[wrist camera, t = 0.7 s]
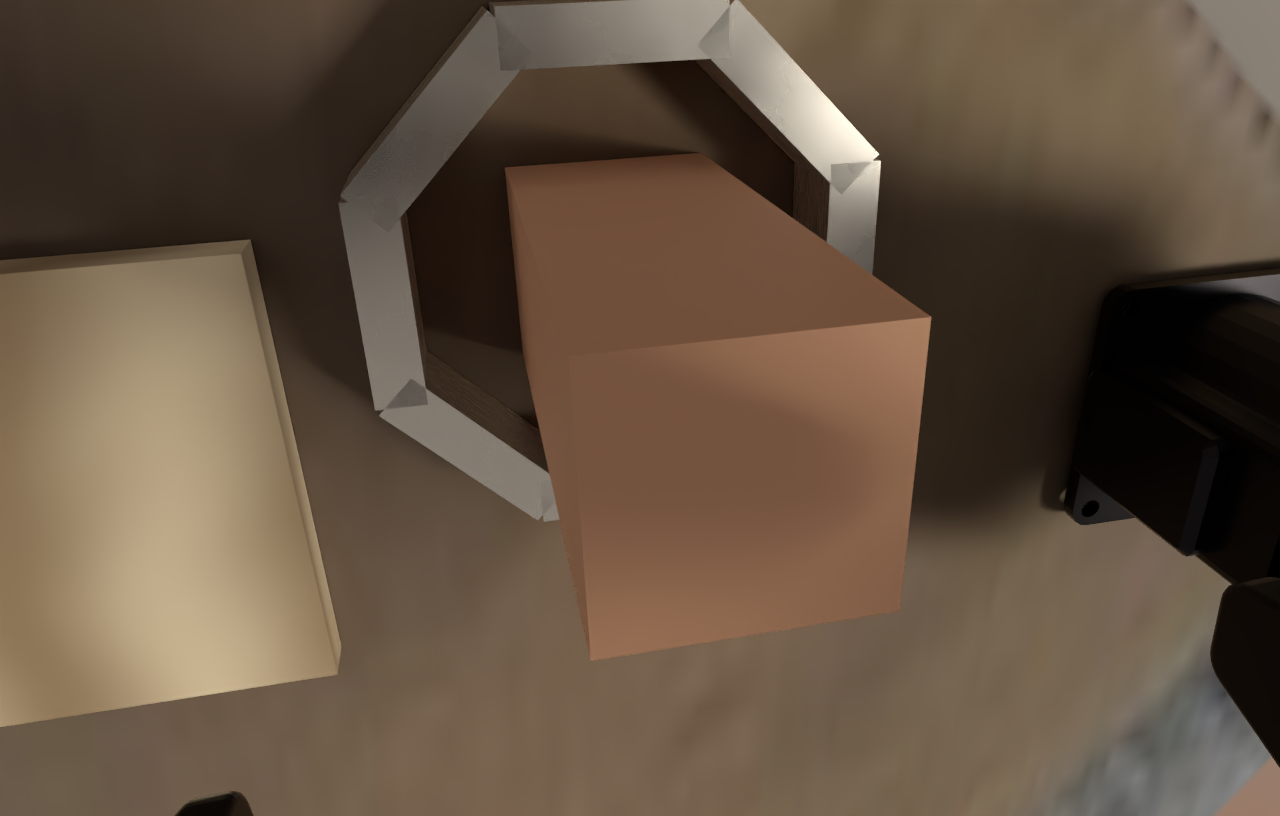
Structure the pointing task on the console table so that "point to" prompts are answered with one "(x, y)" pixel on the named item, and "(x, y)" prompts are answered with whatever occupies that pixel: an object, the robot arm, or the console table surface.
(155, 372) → the maple board
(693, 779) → the console table surface
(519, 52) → the metal ring
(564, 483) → the peg
